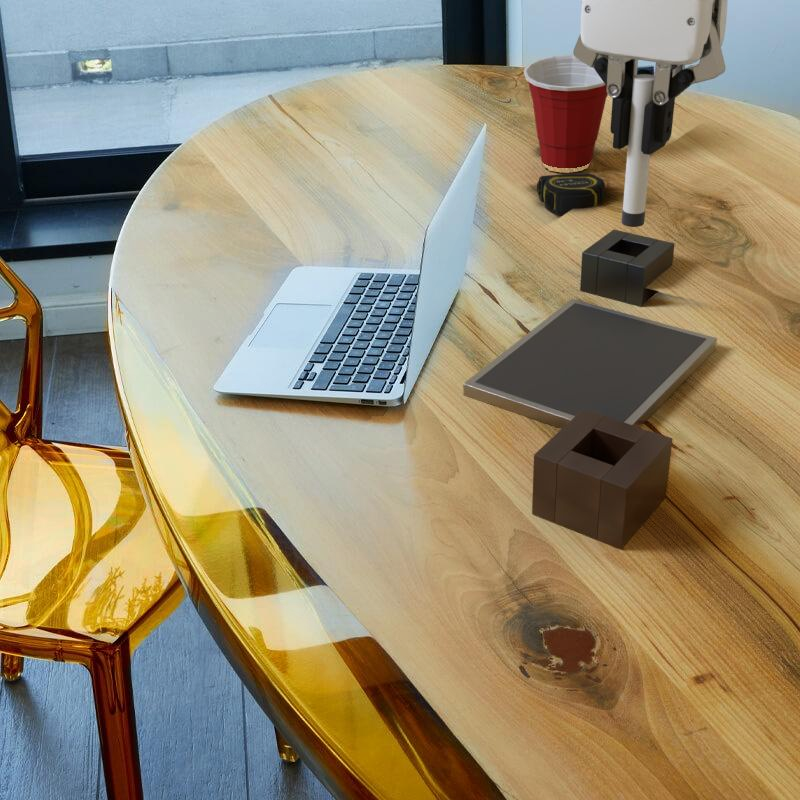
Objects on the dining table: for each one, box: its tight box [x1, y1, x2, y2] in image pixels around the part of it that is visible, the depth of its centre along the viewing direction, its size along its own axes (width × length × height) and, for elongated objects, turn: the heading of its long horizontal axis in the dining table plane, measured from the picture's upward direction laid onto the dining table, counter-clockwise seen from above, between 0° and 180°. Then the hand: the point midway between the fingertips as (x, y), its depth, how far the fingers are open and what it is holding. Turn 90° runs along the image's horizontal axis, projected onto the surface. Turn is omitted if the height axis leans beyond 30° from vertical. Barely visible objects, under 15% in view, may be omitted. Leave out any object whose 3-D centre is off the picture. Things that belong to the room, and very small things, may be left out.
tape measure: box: [536, 172, 606, 217], centre depth 118 cm, size 7×7×4 cm
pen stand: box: [531, 409, 674, 550], centre depth 73 cm, size 7×7×5 cm
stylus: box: [621, 73, 655, 228], centre depth 86 cm, size 2×2×12 cm
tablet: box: [462, 298, 718, 430], centre depth 90 cm, size 14×18×1 cm
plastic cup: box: [523, 54, 609, 168], centre depth 129 cm, size 11×11×12 cm
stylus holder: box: [579, 229, 675, 307], centre depth 102 cm, size 6×6×4 cm
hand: (639, 145), depth 86 cm, fingers closed on stylus, 1 cm apart
